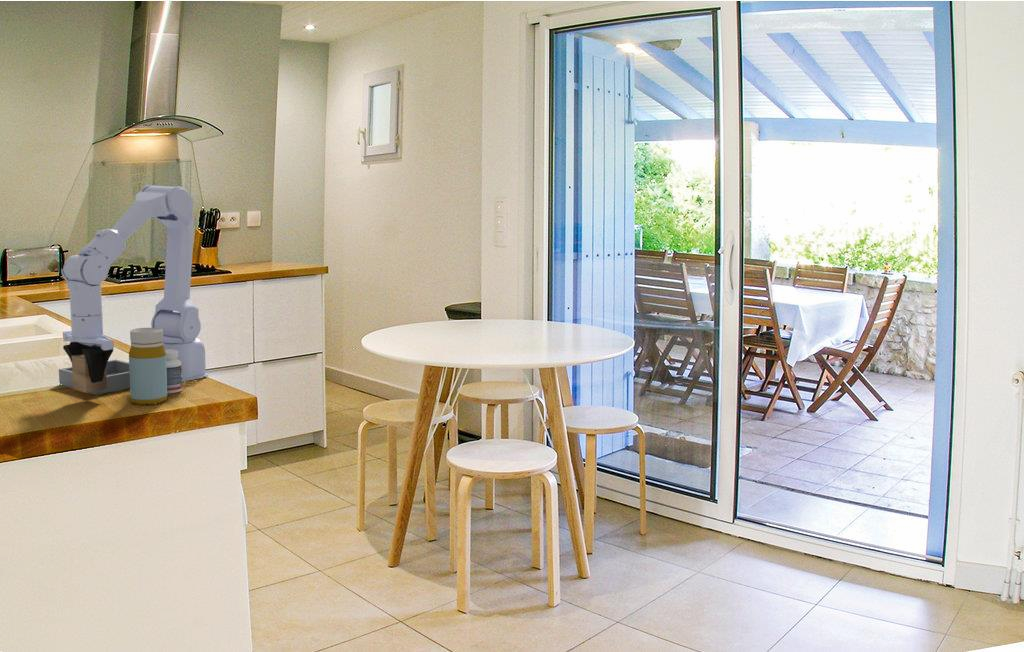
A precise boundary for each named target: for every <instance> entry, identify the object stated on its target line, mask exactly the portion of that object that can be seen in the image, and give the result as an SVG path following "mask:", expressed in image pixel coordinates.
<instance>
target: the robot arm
mask: <svg viewBox="0 0 1024 652" xmlns="http://www.w3.org/2000/svg"><path fill="white" fill-rule="evenodd" d="M134 199H135V200H134V202H133V203H132V204H131V205H130V206H129V208H128V209H127V210H126V211H125V212H124V213H123V215H122V216H121V217H120V218H119V220H118V221H117V222H116V223H115V224H114V226H112V228H104V229H102V230H100V229H99V230H97V231H96V232H95V233H94V235H95V237H94V238H93V239H92V240H90V242H89V243H88V244H86V245H85V246H83V247H82V248H81V249H80V252H79V253H78V254H75V255H74V254H72V255H71V256H69V257H68V258H67V259H66V260H65V262H64V264H63V267H62V268H61V269H60V271H61V272H60V273H61V275H62V278H63V279H64V280H65V281H66V283H67V289H68V290H69V304H70V323H71V325H70V329H71V330H69V331H66V330H65V331H62V341H63V342H69V344H65V345H63V346H62V348H63V350H64V351H65V353H66V354H67V356H68V358H69V360H70V363H72V356H73V355H80V354H84V356H85V358H86V361H87V364H88V368H89V375H90V379H91V382H92V383H95V382H100V381H103V377H104V372H105V368H106V365H107V362H108V361H110V360H109V359H110V357H111V355H112V354H113V352H114V350H115V349H114V347H115V345H114V339H113V338H110V337H108V336H106V335H105V334H104V326H103V325H104V322H103V321H104V320H103V303H102V302H103V301H102V283H103V282H104V281H105V280H106V279H107V277H108V272H109V269H110V267H111V265H112V264H113V263H114V261H115V260H117V259H118V257H119V256H120V255H122V253H123V252H124V251H125V250H126V248H127V241H126V240H127V239H129V237H130V236H132V235H133V234H134V233H135V232H136V231H137V230H139V229H140V228H141V227H142V226H143V225H144V224H145V223H146V222H147V221H148V220H149V219H151V218H155V219H157V220H158V221H160V222H161V223H162V225H164V227H165V228H166V229H167V238H166V239H167V240H166V255H165V257H166V258H165V270H164V271H165V272H164V273H165V275H164V288H163V289H164V290H163V298H162V299H161V300H159V302H158V303H157V304H155V311H154V314H153V316H152V318H151V322H150V328H160V329H162V330H163V346H164V349H165V350H168V349H172V350H177V351H178V358H177V360H179V361H181V364H182V383H183V382H187V381H194V380H196V379H198V380H199V379H202V378H208V377H209V375H208V374H207V373H206V348H205V345H204V343H203V341H201V339H199V338H197V337H198V336H199V334H200V333H201V329H202V328H201V327H202V324H201V321H200V317H199V316H200V315H199V312H200V310H199V308H198V307H197V306H196V304H194V302H193V301H191V299H190V298H191V283H192V282H191V281H192V267H193V249H194V248H193V247H194V233H195V220H194V216H193V209H194V208H193V207H194V198H193V196H192V195H191V194H190V193H189V191H188V190H187V189H186V188H185V187H183V186H180V185H179V186H178V185H176V186H163V185H153V184H147V185H144V186H143V187H142V188H141V190H140V191H138V192H137V193H136V194H135V198H134Z"/></svg>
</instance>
